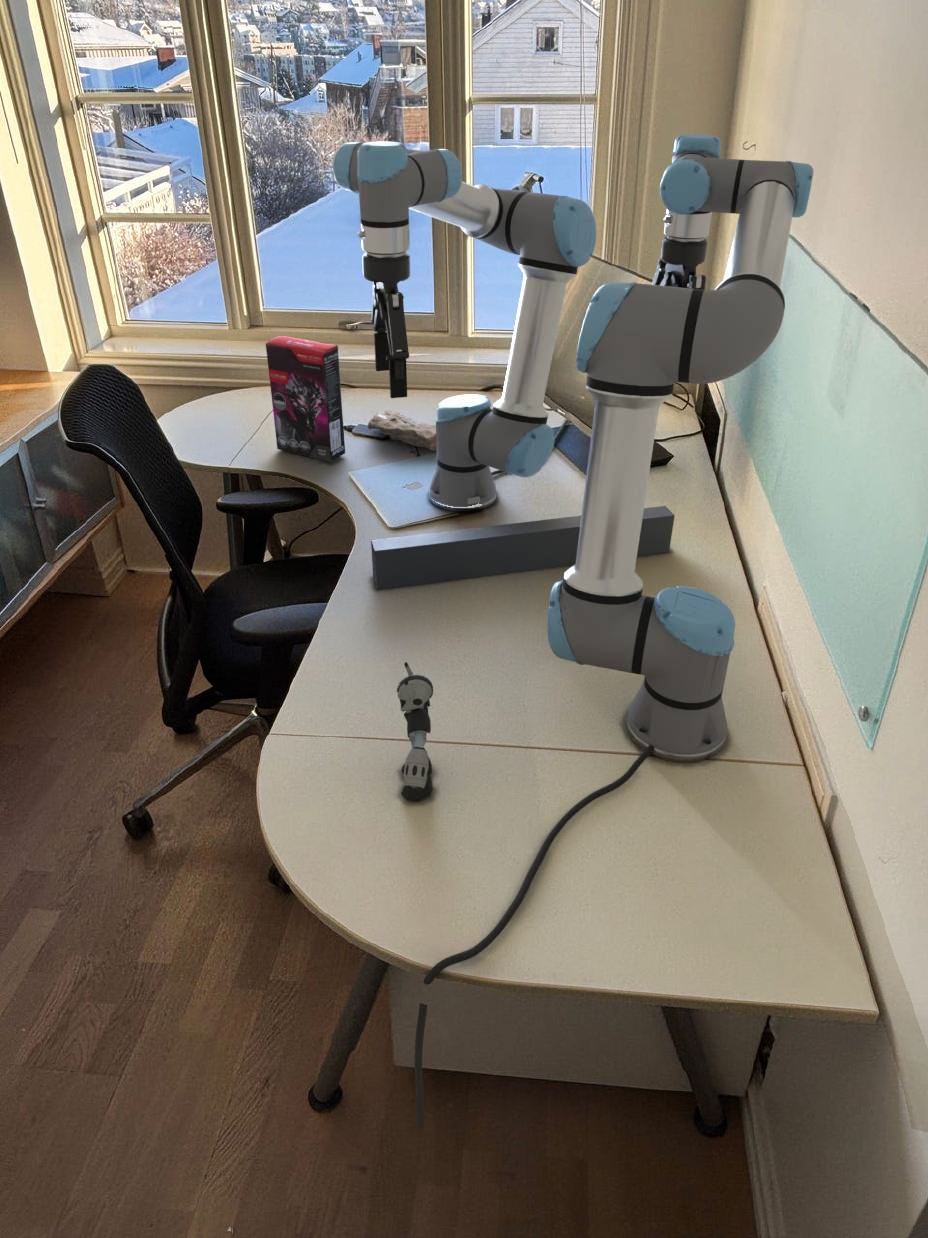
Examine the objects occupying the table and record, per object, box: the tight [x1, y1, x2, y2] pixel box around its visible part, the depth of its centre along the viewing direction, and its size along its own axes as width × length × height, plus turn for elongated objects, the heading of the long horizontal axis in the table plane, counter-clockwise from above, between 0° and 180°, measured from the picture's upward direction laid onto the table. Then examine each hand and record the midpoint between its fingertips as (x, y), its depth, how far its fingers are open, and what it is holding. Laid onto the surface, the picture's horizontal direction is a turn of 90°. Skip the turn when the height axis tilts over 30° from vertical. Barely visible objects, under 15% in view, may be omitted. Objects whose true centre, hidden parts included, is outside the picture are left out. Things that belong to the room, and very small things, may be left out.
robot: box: [396, 661, 434, 803], centre depth 128 cm, size 20×5×20 cm, turn 3°
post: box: [370, 505, 676, 591], centre depth 182 cm, size 61×4×8 cm, turn 105°
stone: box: [367, 410, 437, 452], centre depth 235 cm, size 21×15×6 cm
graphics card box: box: [265, 335, 346, 462], centre depth 222 cm, size 17×7×27 cm, turn 62°
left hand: (391, 383), depth 157 cm, fingers open, 13 cm apart
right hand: (668, 360), depth 168 cm, fingers open, 13 cm apart
